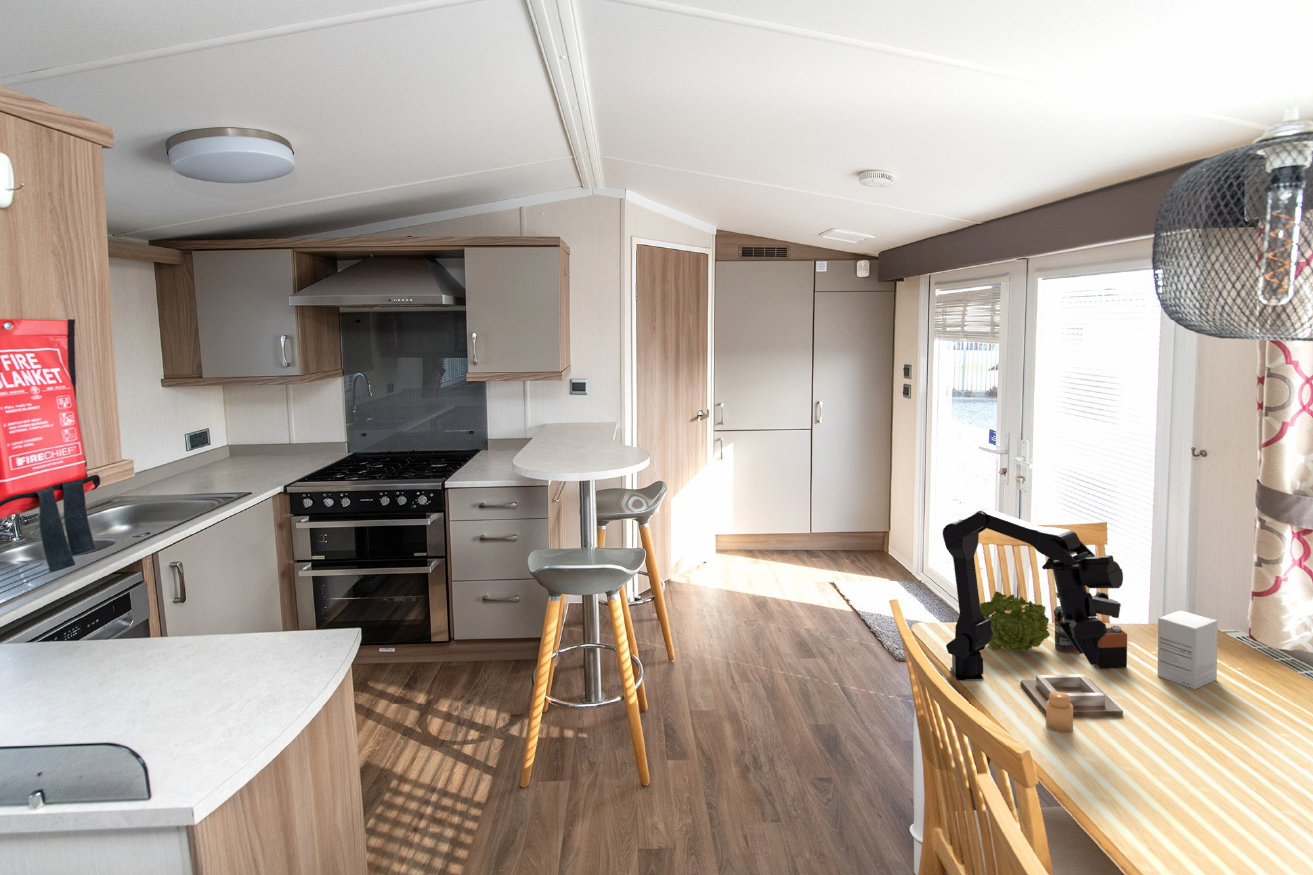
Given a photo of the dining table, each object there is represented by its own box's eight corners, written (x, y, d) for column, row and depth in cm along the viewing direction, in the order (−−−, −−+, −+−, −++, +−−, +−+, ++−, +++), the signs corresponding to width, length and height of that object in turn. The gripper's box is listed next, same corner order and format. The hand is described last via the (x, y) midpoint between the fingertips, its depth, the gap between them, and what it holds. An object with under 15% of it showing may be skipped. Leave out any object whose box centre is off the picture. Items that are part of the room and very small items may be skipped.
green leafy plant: (1031, 616, 218) (1062, 594, 204) (1031, 668, 209) (1063, 649, 196) (968, 597, 219) (995, 574, 205) (966, 648, 210) (993, 628, 197)
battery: (1127, 668, 193) (1128, 630, 191) (1100, 669, 193) (1100, 631, 191) (1117, 660, 197) (1118, 623, 196) (1090, 662, 197) (1091, 624, 196)
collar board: (1047, 717, 172) (1047, 701, 171) (1020, 684, 188) (1020, 670, 187) (1122, 716, 170) (1123, 700, 170) (1089, 683, 186) (1089, 669, 185)
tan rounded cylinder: (1051, 732, 165) (1051, 701, 165) (1042, 720, 171) (1042, 690, 170) (1077, 732, 165) (1077, 701, 164) (1066, 720, 170) (1066, 690, 169)
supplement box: (1178, 667, 191) (1179, 609, 189) (1217, 680, 183) (1219, 620, 181) (1155, 675, 188) (1156, 616, 186) (1194, 689, 180) (1196, 628, 178)
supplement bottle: (1079, 646, 207) (1079, 606, 205) (1080, 655, 201) (1081, 613, 200) (1054, 644, 209) (1054, 604, 208) (1055, 652, 204) (1055, 611, 202)
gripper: (1125, 590, 158) (1143, 665, 157) (1098, 575, 176) (1114, 643, 175) (1066, 598, 161) (1083, 672, 160) (1046, 583, 179) (1061, 649, 178)
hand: (1087, 658), depth 168 cm, fingers open, 9 cm apart
